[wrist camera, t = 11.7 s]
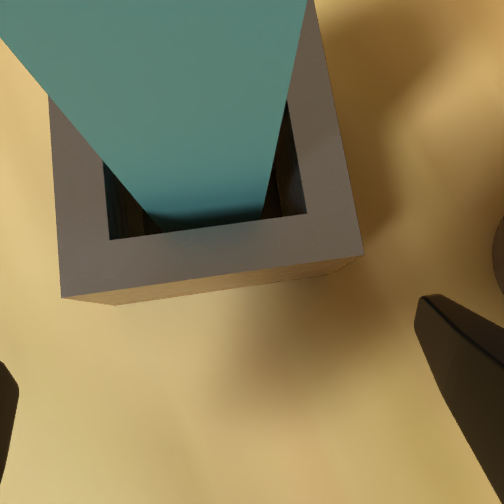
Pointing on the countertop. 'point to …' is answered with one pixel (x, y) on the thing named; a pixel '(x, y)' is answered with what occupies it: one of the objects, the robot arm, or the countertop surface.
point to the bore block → (216, 237)
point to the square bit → (168, 93)
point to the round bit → (499, 254)
